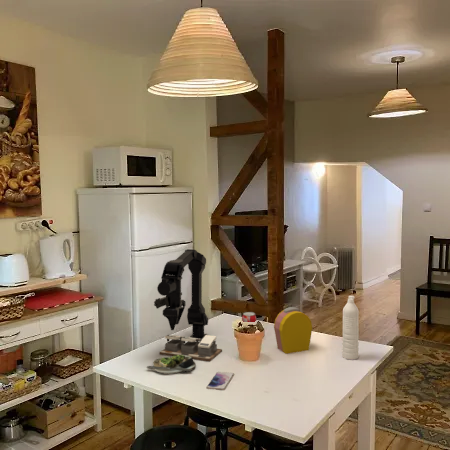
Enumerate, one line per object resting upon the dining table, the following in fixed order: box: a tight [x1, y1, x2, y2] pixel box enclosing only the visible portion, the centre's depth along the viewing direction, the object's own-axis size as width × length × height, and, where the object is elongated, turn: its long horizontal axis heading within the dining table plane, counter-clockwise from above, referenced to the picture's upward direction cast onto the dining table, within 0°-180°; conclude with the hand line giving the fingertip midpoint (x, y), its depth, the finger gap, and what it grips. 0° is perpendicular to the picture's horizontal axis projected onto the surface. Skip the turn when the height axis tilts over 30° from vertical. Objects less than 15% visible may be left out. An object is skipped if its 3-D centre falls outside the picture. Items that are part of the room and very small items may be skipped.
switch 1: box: [164, 334, 184, 340], centre depth 206 cm, size 8×5×1 cm, turn 157°
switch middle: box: [181, 336, 200, 342], centre depth 203 cm, size 8×5×1 cm, turn 157°
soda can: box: [241, 311, 258, 322], centre depth 222 cm, size 7×7×12 cm
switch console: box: [158, 334, 223, 362], centre depth 203 cm, size 13×24×7 cm, turn 67°
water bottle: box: [341, 295, 360, 361], centre depth 196 cm, size 9×6×25 cm
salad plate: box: [146, 355, 197, 375], centre depth 188 cm, size 19×18×5 cm
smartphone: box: [206, 371, 235, 391], centre depth 174 cm, size 7×1×15 cm
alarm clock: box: [273, 306, 313, 355], centre depth 206 cm, size 15×8×18 cm, turn 111°
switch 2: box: [198, 334, 217, 349], centre depth 200 cm, size 8×5×1 cm, turn 157°
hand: (174, 327), depth 200 cm, fingers open, 9 cm apart
